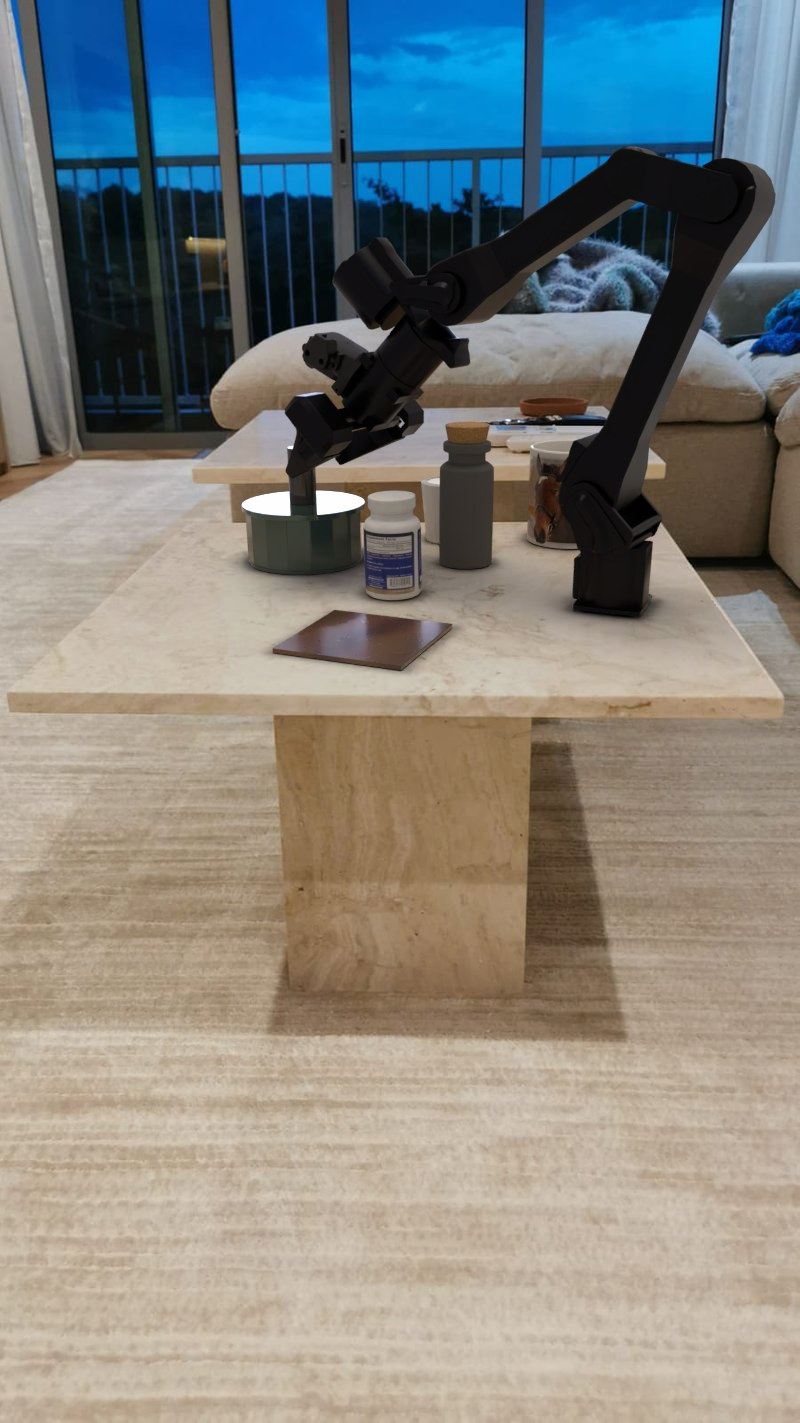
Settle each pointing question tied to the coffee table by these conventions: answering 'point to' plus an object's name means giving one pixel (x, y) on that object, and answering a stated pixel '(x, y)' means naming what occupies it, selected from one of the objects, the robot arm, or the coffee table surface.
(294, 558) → the tin
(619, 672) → the coffee table surface
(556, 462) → the mug
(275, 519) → the tin lid
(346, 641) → the glossy brown square tile
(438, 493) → the shot glass
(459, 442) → the bottle
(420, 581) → the pill bottle
